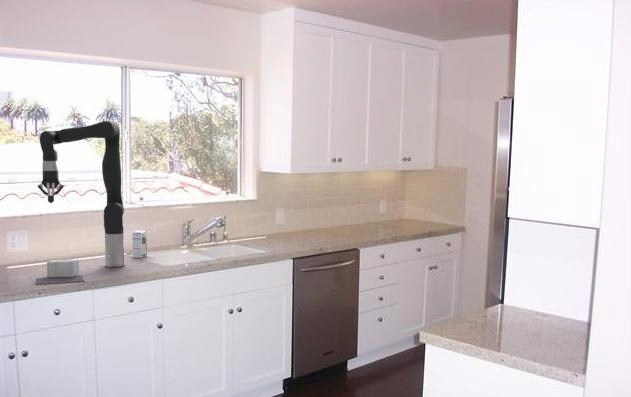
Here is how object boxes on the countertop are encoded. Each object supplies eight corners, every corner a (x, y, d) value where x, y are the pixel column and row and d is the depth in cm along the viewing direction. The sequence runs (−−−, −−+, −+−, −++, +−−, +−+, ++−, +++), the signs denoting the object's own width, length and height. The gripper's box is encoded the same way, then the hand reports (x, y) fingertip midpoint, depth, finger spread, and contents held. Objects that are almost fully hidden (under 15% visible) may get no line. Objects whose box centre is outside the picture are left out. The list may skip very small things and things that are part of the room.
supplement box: (53, 274, 284) (79, 274, 284) (46, 277, 277) (73, 277, 277) (53, 259, 284) (79, 259, 284) (46, 261, 277) (73, 261, 277)
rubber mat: (82, 276, 283) (82, 275, 283) (83, 281, 272) (83, 280, 272) (36, 278, 275) (36, 278, 275) (35, 284, 264) (35, 284, 264)
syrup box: (141, 258, 328) (141, 232, 327) (132, 257, 329) (132, 231, 328) (146, 256, 334) (146, 230, 332) (137, 255, 335) (137, 230, 333)
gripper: (36, 170, 298) (36, 203, 300) (64, 170, 303) (64, 203, 305) (36, 169, 305) (37, 202, 307) (64, 169, 310) (64, 201, 312)
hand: (51, 202), depth 306 cm, fingers closed
